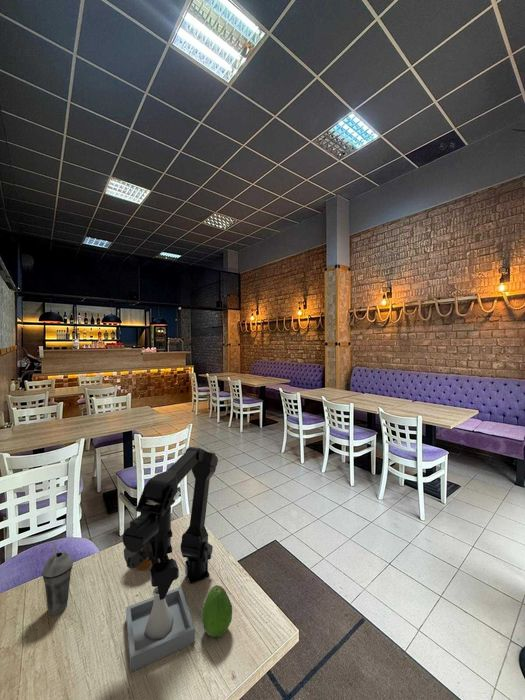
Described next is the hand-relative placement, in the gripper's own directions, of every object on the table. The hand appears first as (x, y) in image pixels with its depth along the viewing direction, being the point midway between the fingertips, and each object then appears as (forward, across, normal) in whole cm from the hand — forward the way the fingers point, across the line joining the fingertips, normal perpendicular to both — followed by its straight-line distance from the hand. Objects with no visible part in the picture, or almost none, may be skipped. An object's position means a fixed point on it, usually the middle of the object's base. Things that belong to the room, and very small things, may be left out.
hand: (159, 585), depth 78 cm
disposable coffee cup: (+12, -28, 0) cm, 30 cm away
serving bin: (+12, 0, 0) cm, 12 cm away
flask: (+12, 0, 0) cm, 12 cm away
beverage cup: (+12, -21, -24) cm, 34 cm away
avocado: (+12, +7, +14) cm, 20 cm away
